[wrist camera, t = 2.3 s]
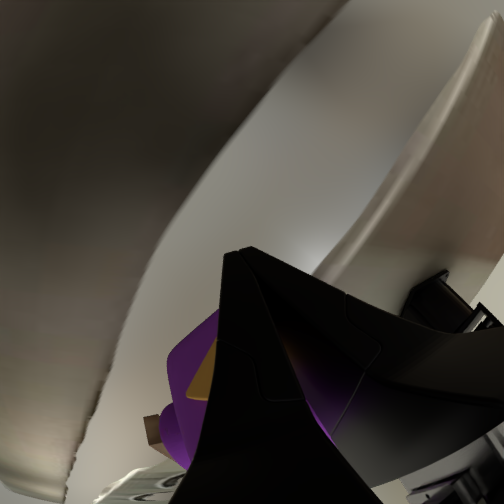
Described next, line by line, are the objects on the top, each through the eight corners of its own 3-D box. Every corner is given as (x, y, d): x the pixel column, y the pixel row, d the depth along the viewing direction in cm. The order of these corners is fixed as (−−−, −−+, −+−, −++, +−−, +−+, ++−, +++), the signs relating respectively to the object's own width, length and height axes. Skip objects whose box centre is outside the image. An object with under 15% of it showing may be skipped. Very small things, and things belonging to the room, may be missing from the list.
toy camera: (128, 384, 18) (153, 509, 11) (232, 245, 15) (334, 425, 7) (235, 399, 25) (274, 490, 17) (340, 301, 21) (418, 402, 13)
